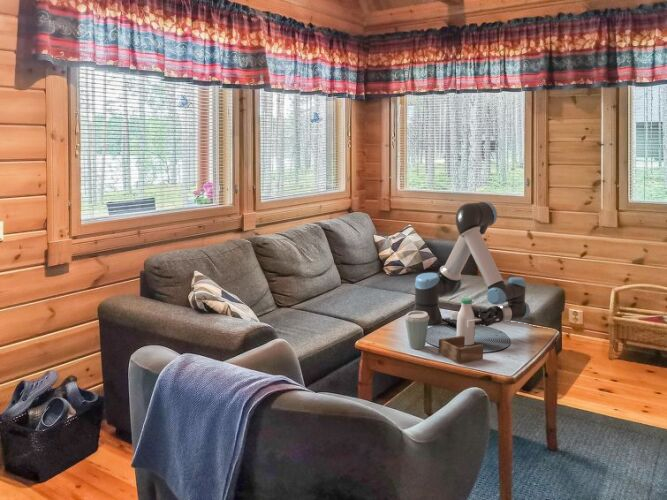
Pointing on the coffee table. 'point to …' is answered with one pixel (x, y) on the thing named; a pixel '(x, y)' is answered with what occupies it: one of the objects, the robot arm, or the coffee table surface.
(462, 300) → the milk bottle
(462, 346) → the wooden open tray
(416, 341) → the disposable coffee cup
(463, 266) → the robot arm
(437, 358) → the coffee table surface
